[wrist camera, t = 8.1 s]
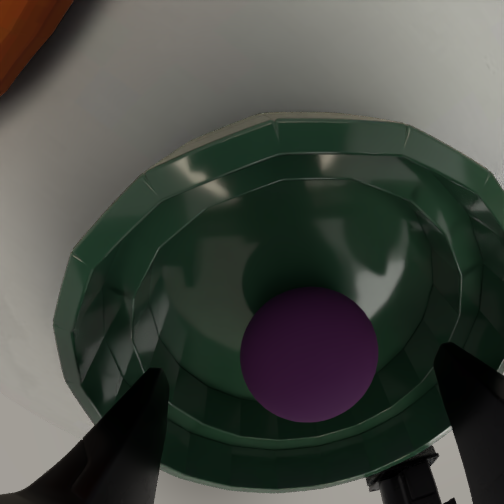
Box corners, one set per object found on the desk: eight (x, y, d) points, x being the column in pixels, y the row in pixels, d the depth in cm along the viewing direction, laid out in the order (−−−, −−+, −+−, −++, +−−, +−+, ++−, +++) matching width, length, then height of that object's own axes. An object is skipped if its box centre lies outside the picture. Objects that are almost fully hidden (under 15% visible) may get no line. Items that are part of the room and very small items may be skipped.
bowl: (411, 391, 15) (439, 460, 11) (161, 410, 15) (146, 487, 11) (477, 128, 9) (575, 160, 4) (83, 135, 9) (-18, 170, 4)
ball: (348, 349, 12) (377, 434, 9) (244, 358, 12) (245, 450, 9) (362, 257, 11) (417, 341, 7) (235, 265, 11) (232, 362, 7)
